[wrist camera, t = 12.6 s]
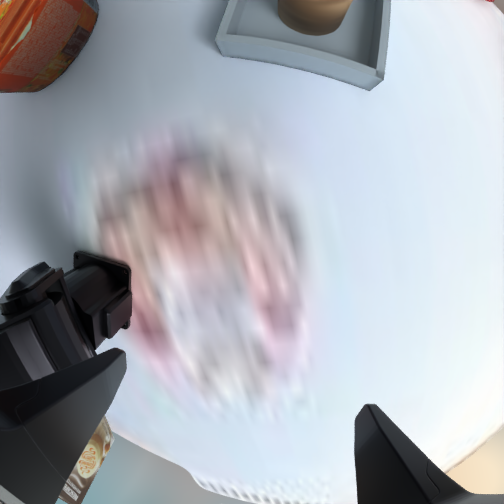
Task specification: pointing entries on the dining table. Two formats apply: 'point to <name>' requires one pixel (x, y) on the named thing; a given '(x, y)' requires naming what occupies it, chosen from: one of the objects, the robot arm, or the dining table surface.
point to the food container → (41, 40)
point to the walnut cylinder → (313, 15)
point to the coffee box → (88, 464)
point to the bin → (310, 41)
